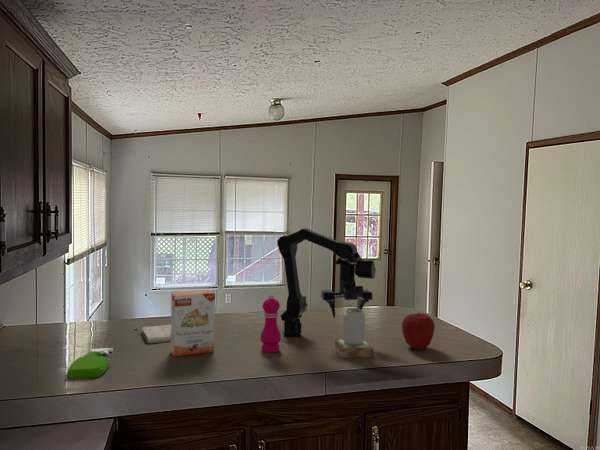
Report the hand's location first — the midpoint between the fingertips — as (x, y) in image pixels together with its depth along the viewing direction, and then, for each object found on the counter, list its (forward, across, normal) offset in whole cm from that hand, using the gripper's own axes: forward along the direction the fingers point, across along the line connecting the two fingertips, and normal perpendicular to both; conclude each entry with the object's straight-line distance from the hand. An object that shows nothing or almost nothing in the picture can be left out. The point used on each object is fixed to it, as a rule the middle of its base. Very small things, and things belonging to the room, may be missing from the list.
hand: (346, 317), depth 176 cm
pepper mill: (+10, -29, -7) cm, 31 cm away
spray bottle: (+10, -86, -16) cm, 88 cm away
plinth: (+10, 0, -12) cm, 15 cm away
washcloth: (+10, -70, +14) cm, 72 cm away
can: (+6, 0, -12) cm, 13 cm away
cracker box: (+10, -56, -7) cm, 57 cm away
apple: (+10, +25, -9) cm, 28 cm away
